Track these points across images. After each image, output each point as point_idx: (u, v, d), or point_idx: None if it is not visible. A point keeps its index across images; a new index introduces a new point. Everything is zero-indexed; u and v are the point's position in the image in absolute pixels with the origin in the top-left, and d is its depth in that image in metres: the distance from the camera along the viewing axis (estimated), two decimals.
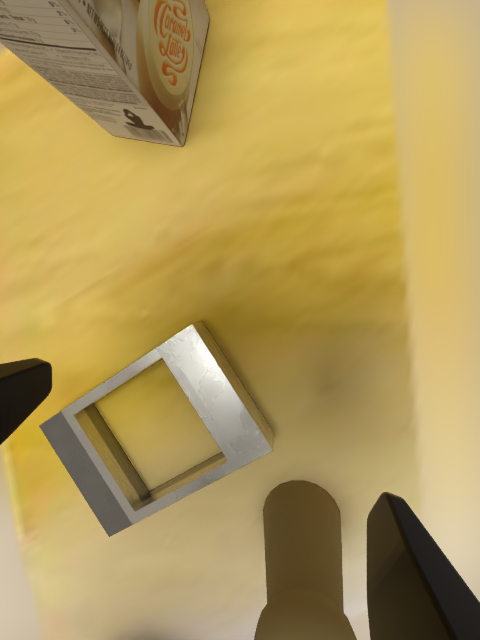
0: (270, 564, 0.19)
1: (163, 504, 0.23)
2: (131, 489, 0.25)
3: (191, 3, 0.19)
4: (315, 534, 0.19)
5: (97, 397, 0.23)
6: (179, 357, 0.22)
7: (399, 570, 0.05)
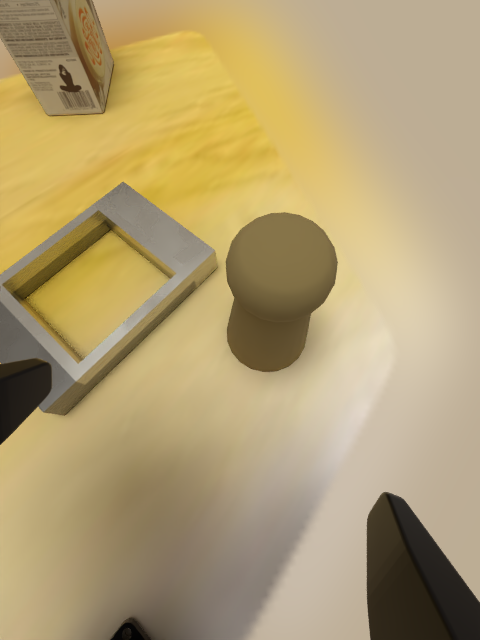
0: None
1: (113, 341, 0.20)
2: (72, 354, 0.21)
3: (100, 37, 0.32)
4: None
5: (31, 260, 0.23)
6: (115, 205, 0.25)
7: (399, 570, 0.05)
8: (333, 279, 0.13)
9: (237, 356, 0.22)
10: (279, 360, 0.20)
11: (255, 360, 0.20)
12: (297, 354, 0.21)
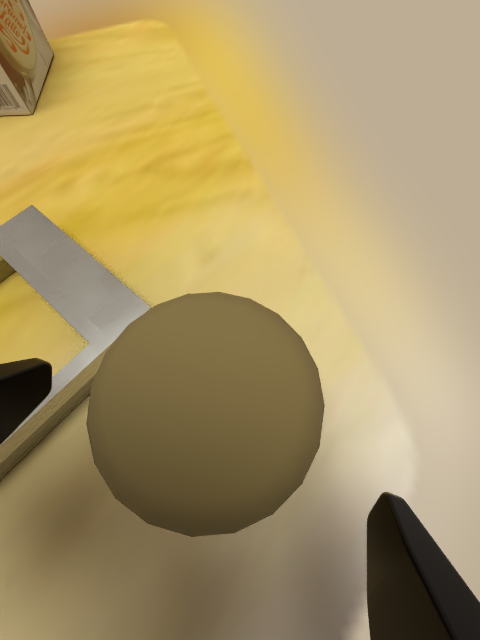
0: None
1: None
2: None
3: (29, 20, 0.25)
4: None
5: None
6: (14, 239, 0.17)
7: (399, 570, 0.05)
8: (315, 451, 0.06)
9: None
10: None
11: None
12: None
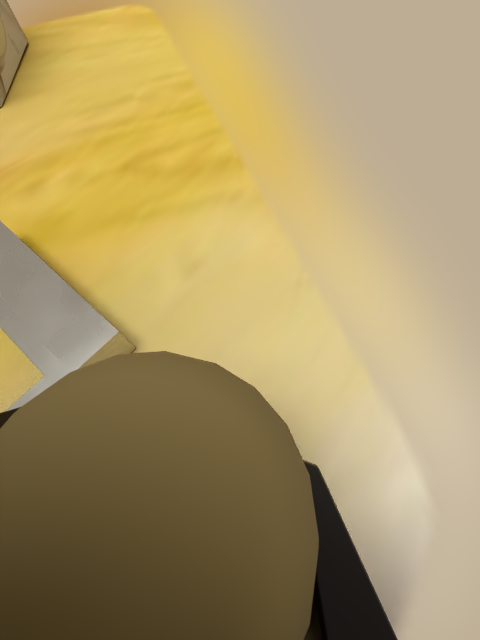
0: None
1: None
2: None
3: None
4: None
5: None
6: None
7: None
8: (302, 636, 0.04)
9: None
10: None
11: None
12: None
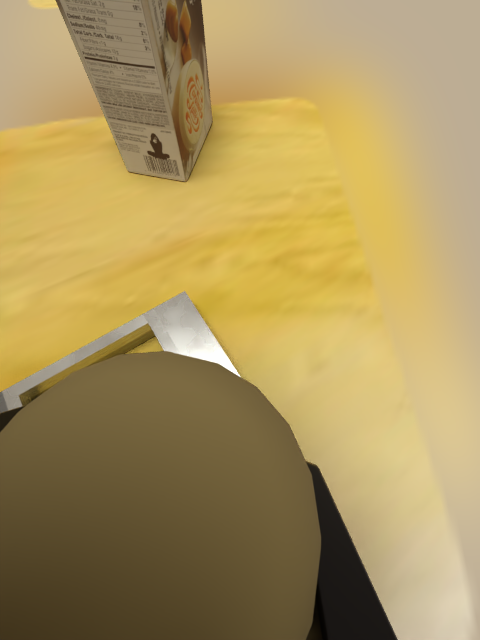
0: None
1: None
2: None
3: (205, 100, 0.29)
4: None
5: (58, 370, 0.20)
6: (168, 322, 0.21)
7: None
8: (305, 636, 0.04)
9: None
10: None
11: None
12: None
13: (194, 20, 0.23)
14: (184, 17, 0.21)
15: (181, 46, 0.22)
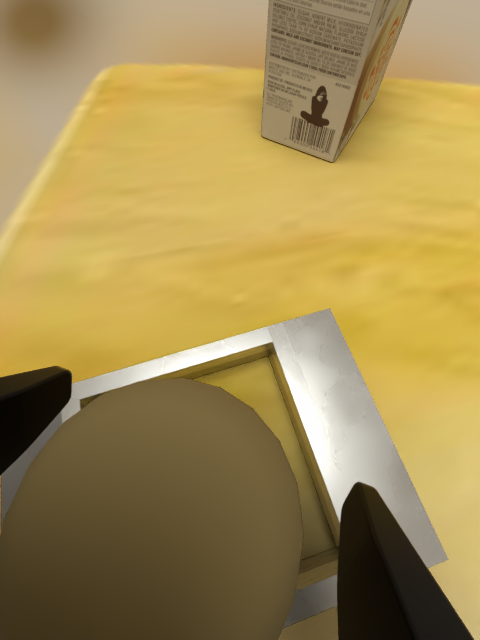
0: None
1: None
2: None
3: (386, 63, 0.22)
4: None
5: (139, 378, 0.14)
6: (301, 348, 0.14)
7: (365, 556, 0.06)
8: (288, 612, 0.05)
9: None
10: None
11: None
12: None
13: None
14: None
15: None
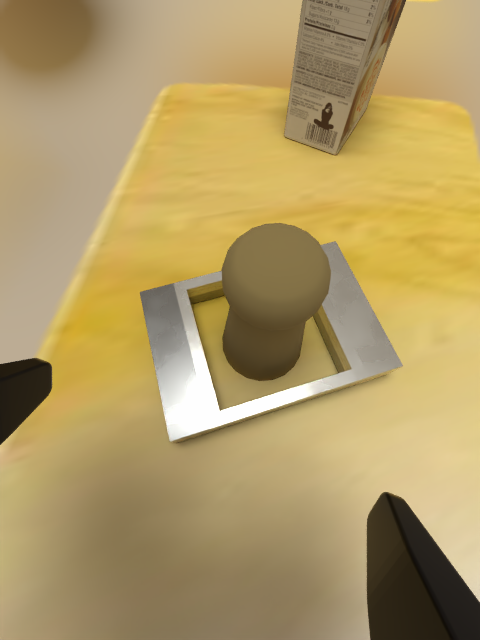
0: None
1: (260, 406, 0.19)
2: (214, 392, 0.20)
3: (372, 86, 0.31)
4: None
5: (221, 279, 0.23)
6: None
7: (399, 570, 0.05)
8: (327, 288, 0.14)
9: (232, 365, 0.22)
10: (274, 369, 0.20)
11: (250, 369, 0.20)
12: (292, 363, 0.21)
13: (400, 8, 0.25)
14: (399, 2, 0.23)
15: (387, 27, 0.24)
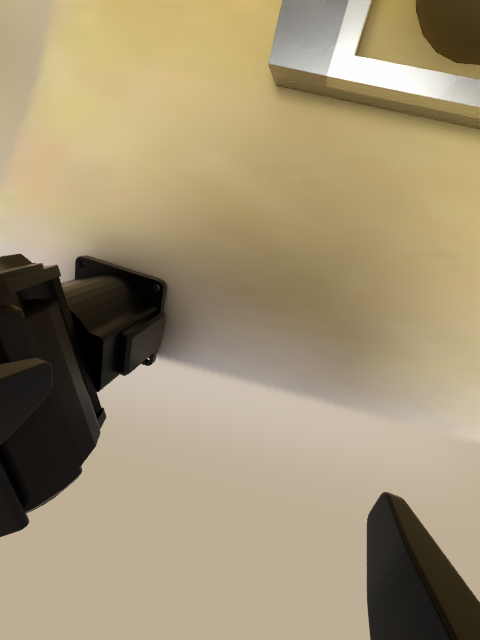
0: None
1: (413, 84, 0.12)
2: (364, 23, 0.12)
3: None
4: None
5: None
6: None
7: (399, 570, 0.05)
8: None
9: None
10: None
11: (446, 8, 0.11)
12: None
13: None
14: None
15: None
